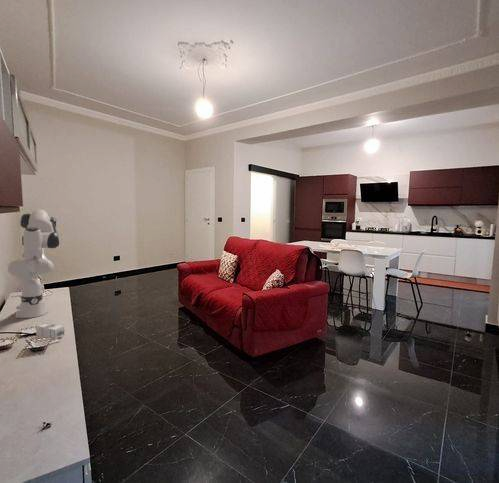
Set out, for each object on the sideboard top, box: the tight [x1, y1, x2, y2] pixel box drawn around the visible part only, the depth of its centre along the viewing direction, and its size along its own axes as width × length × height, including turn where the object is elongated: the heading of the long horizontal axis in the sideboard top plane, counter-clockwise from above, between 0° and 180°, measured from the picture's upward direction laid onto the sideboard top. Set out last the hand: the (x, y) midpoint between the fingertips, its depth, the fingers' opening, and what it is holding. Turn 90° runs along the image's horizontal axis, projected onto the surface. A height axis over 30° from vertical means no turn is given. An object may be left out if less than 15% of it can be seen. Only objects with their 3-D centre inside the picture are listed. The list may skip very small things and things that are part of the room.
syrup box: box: [35, 323, 65, 339], centre depth 171 cm, size 6×6×14 cm
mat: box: [25, 335, 61, 345], centre depth 166 cm, size 16×12×1 cm
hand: (33, 278), depth 173 cm, fingers closed
